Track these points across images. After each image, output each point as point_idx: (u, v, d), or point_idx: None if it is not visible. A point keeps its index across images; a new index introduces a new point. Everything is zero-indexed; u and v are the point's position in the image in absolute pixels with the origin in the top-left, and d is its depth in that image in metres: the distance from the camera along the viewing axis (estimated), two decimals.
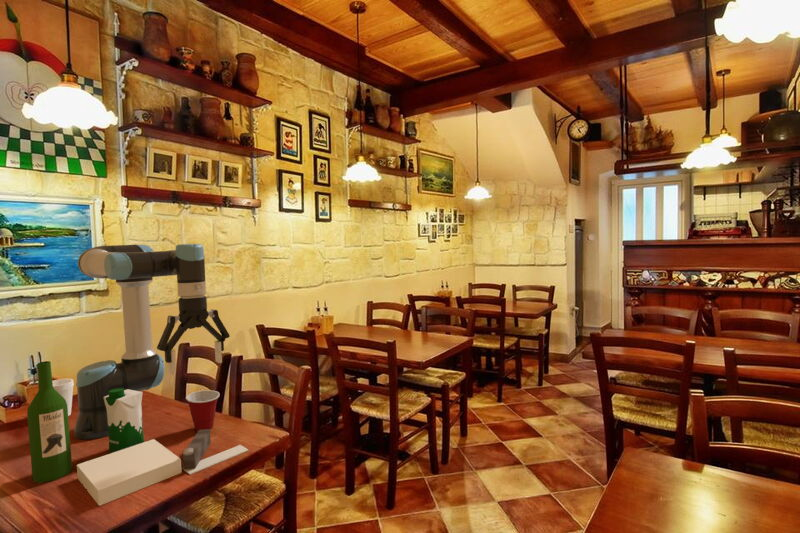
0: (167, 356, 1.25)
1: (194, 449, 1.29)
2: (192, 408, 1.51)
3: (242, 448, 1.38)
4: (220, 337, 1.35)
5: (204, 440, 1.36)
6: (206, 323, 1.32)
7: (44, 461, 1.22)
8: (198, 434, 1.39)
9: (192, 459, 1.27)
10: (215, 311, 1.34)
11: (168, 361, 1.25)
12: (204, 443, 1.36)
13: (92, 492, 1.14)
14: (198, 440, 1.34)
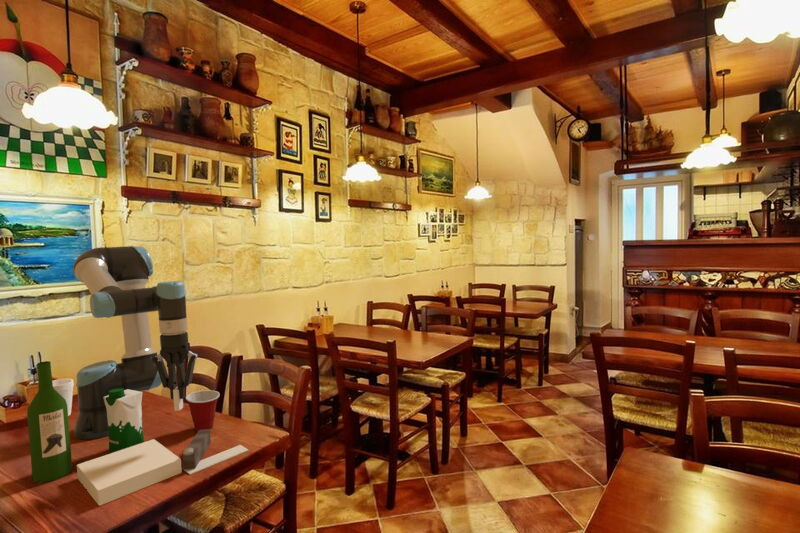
0: (171, 393, 1.34)
1: (194, 449, 1.29)
2: (192, 408, 1.51)
3: (242, 448, 1.38)
4: (179, 384, 1.34)
5: (204, 440, 1.36)
6: (177, 363, 1.33)
7: (44, 461, 1.22)
8: (198, 434, 1.39)
9: (192, 459, 1.27)
10: (193, 356, 1.33)
11: (171, 398, 1.34)
12: (204, 443, 1.36)
13: (92, 492, 1.14)
14: (198, 440, 1.34)
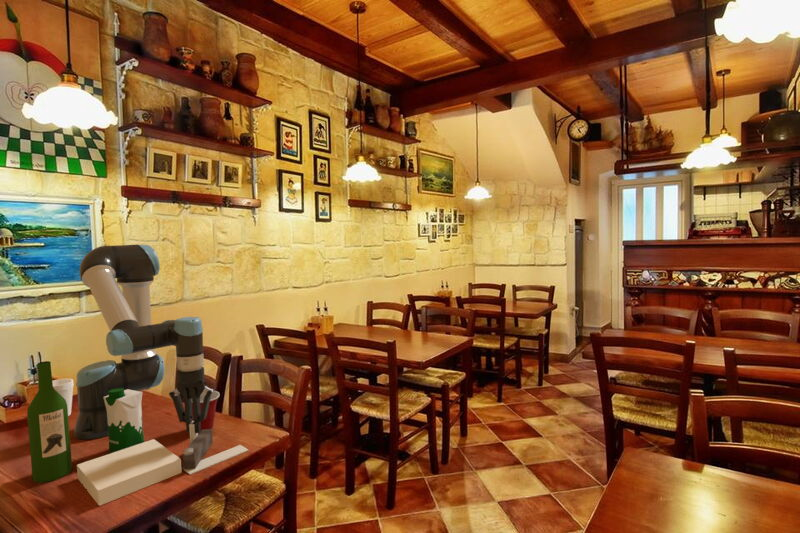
0: (187, 427, 1.36)
1: (194, 449, 1.29)
2: (192, 408, 1.51)
3: (242, 448, 1.38)
4: (195, 419, 1.36)
5: (205, 440, 1.36)
6: (194, 398, 1.35)
7: (44, 461, 1.22)
8: (200, 434, 1.39)
9: (192, 459, 1.27)
10: (209, 392, 1.35)
11: (187, 432, 1.36)
12: (205, 443, 1.36)
13: (92, 492, 1.14)
14: (199, 440, 1.34)
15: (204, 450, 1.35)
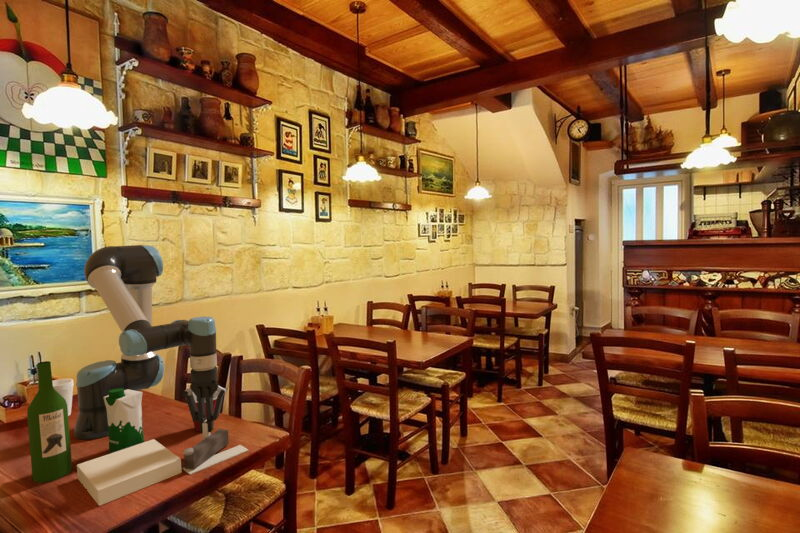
0: (200, 426, 1.37)
1: (196, 450, 1.28)
2: None
3: (242, 448, 1.38)
4: (208, 418, 1.36)
5: (215, 441, 1.36)
6: (207, 397, 1.36)
7: (44, 461, 1.22)
8: (214, 434, 1.39)
9: (192, 460, 1.26)
10: (222, 391, 1.36)
11: (200, 431, 1.37)
12: (215, 444, 1.35)
13: (92, 492, 1.14)
14: (208, 440, 1.34)
15: (212, 451, 1.34)
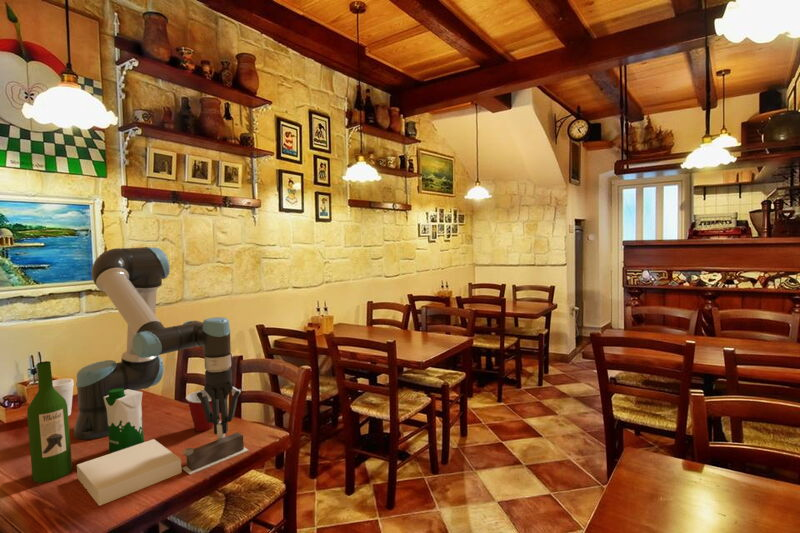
0: (214, 428, 1.36)
1: (197, 451, 1.27)
2: (192, 408, 1.51)
3: None
4: (223, 419, 1.35)
5: (224, 445, 1.33)
6: (221, 398, 1.35)
7: (44, 461, 1.22)
8: (228, 436, 1.36)
9: (190, 461, 1.26)
10: (236, 392, 1.35)
11: (215, 432, 1.36)
12: (223, 448, 1.33)
13: (92, 492, 1.14)
14: (216, 443, 1.32)
15: (219, 455, 1.32)
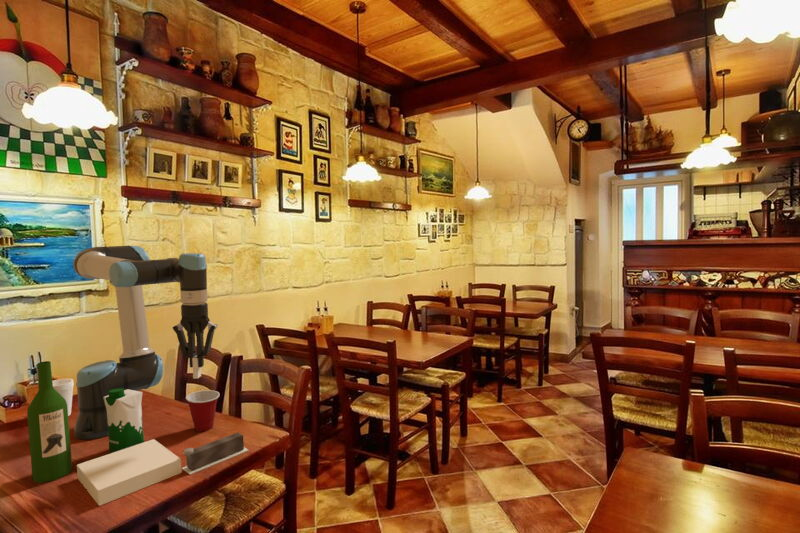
0: (190, 361, 1.38)
1: (197, 451, 1.27)
2: (192, 408, 1.51)
3: None
4: (199, 353, 1.38)
5: (224, 445, 1.33)
6: (197, 332, 1.37)
7: (44, 461, 1.22)
8: (228, 436, 1.36)
9: (190, 461, 1.26)
10: (212, 326, 1.37)
11: (190, 366, 1.38)
12: (223, 448, 1.33)
13: (92, 492, 1.14)
14: (216, 443, 1.32)
15: (219, 455, 1.32)
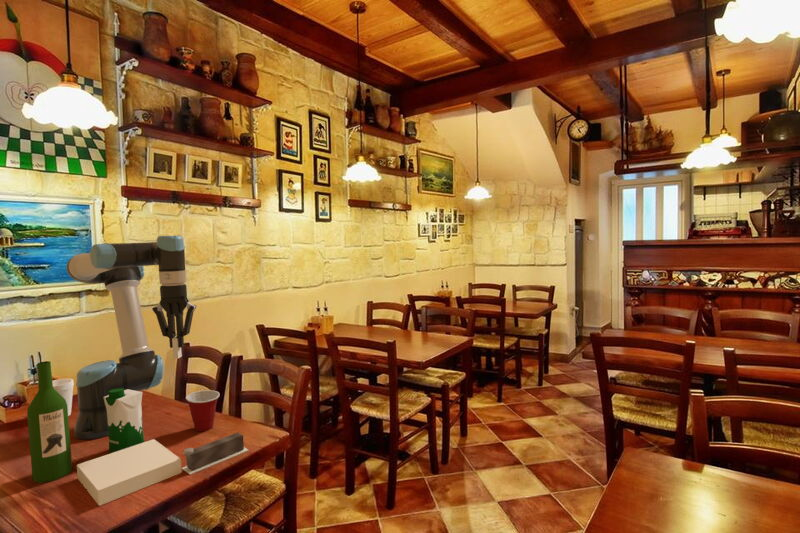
0: (170, 342, 1.41)
1: (197, 451, 1.27)
2: (192, 408, 1.51)
3: None
4: (178, 333, 1.40)
5: (224, 445, 1.33)
6: (176, 312, 1.39)
7: (44, 461, 1.22)
8: (228, 436, 1.36)
9: (190, 461, 1.26)
10: (191, 307, 1.40)
11: (170, 346, 1.41)
12: (223, 448, 1.33)
13: (92, 492, 1.14)
14: (216, 443, 1.32)
15: (219, 455, 1.32)
